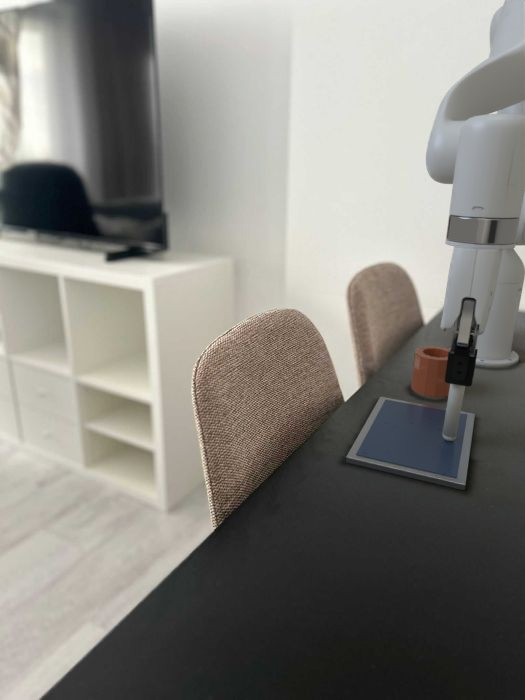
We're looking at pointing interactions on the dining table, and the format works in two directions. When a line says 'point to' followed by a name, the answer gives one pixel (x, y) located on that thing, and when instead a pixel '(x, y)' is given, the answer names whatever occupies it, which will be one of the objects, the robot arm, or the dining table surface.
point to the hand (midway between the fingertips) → (458, 379)
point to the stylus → (453, 411)
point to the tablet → (414, 443)
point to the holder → (430, 371)
